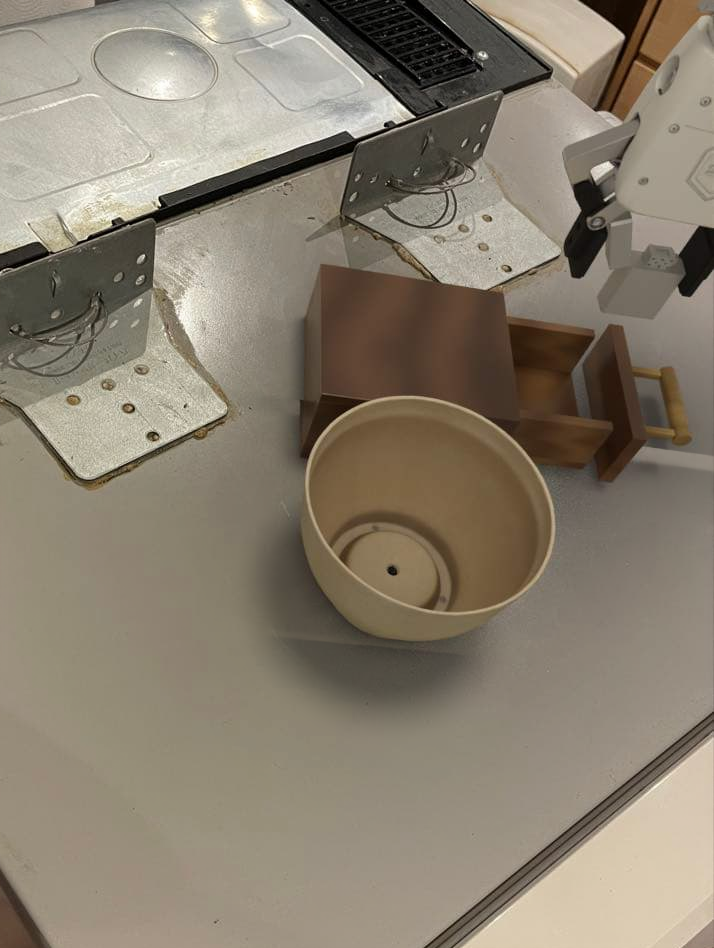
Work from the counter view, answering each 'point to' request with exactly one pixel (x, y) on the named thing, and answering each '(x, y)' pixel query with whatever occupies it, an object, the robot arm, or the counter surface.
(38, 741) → the counter surface
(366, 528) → the planter bowl
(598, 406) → the drawer
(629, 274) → the lighter
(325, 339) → the cabinet
